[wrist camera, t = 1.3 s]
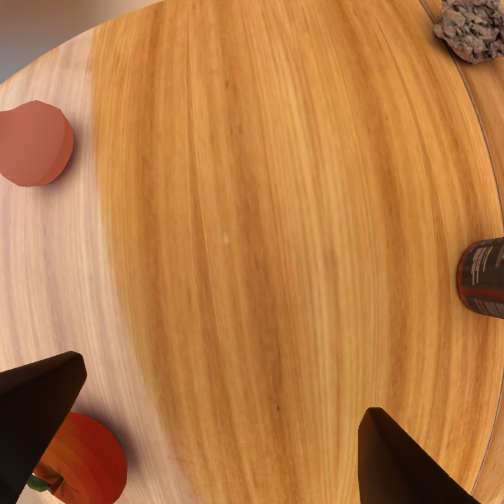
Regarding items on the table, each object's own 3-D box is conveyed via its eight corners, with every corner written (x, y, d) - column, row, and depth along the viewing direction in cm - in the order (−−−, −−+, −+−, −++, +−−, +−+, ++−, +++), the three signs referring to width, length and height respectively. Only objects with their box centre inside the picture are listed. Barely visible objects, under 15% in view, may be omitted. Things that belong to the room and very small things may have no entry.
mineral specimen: (484, -5, 16) (506, -32, 8) (517, 61, 18) (551, 51, 10) (406, 9, 22) (409, -23, 15) (440, 75, 25) (457, 63, 17)
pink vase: (22, 176, 24) (-62, 147, 12) (57, 112, 24) (-18, 62, 12) (60, 207, 23) (-43, 180, 11) (100, 133, 23) (12, 70, 11)
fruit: (134, 492, 21) (91, 549, 11) (60, 445, 22) (6, 485, 12) (152, 434, 21) (96, 500, 11) (66, 381, 22) (-6, 417, 12)
